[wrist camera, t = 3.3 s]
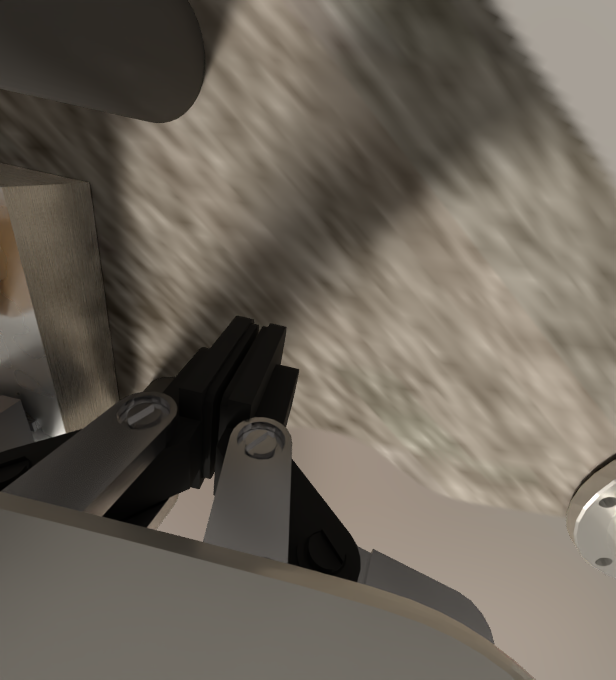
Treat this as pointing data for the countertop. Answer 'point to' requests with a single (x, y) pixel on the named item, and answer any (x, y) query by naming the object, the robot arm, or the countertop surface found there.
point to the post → (104, 54)
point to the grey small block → (13, 424)
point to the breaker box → (52, 303)
